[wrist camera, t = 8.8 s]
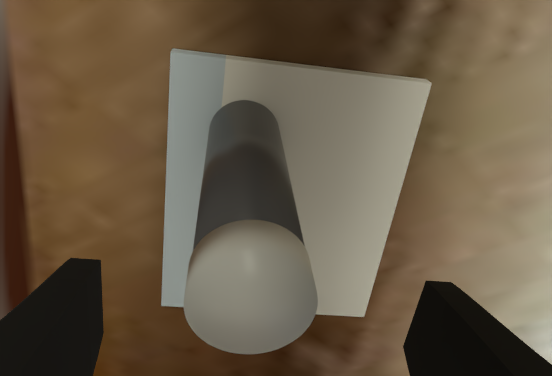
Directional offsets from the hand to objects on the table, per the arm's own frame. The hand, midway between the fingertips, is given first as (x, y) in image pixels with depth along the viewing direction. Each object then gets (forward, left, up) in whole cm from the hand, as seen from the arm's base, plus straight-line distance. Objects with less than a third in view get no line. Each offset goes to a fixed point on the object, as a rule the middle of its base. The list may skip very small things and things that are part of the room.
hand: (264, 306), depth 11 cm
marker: (0, 0, -10) cm, 10 cm away
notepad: (-3, -2, -10) cm, 11 cm away
